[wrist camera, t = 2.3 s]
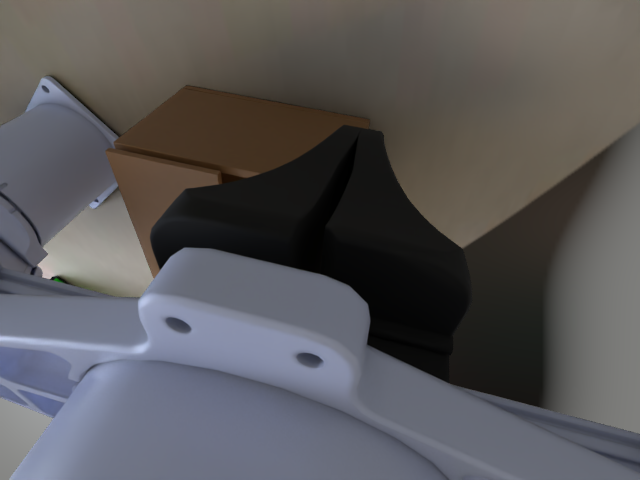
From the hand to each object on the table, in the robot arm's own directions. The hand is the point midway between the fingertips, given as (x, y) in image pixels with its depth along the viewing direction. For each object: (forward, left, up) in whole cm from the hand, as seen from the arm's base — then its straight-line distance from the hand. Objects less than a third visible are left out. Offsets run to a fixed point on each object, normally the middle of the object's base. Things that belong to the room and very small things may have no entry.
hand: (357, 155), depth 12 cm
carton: (-12, -3, -11) cm, 16 cm away
